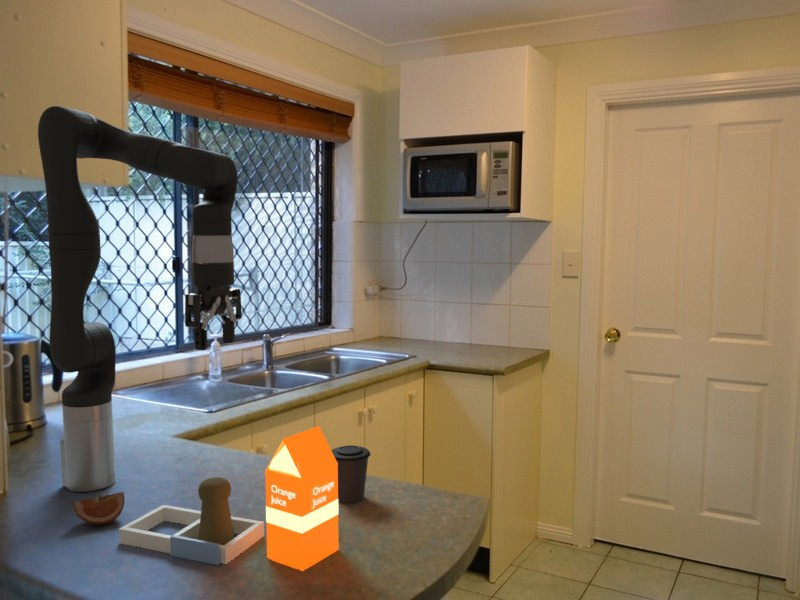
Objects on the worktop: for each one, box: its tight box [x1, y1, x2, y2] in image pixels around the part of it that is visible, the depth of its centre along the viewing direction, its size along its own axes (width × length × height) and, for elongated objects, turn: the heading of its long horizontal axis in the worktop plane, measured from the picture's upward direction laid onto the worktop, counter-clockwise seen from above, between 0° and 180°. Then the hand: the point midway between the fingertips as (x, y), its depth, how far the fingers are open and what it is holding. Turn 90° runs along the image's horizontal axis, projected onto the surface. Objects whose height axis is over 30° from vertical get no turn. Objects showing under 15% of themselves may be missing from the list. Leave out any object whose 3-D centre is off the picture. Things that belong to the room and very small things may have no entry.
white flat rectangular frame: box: [118, 504, 265, 566], centre depth 116 cm, size 21×12×3 cm, turn 69°
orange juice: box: [264, 425, 340, 572], centre depth 110 cm, size 8×9×20 cm
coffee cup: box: [331, 445, 371, 505], centre depth 134 cm, size 8×8×10 cm
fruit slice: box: [72, 491, 125, 526], centre depth 124 cm, size 8×7×5 cm
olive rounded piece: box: [197, 476, 235, 545], centre depth 114 cm, size 6×6×11 cm
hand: (215, 346), depth 131 cm, fingers open, 8 cm apart
